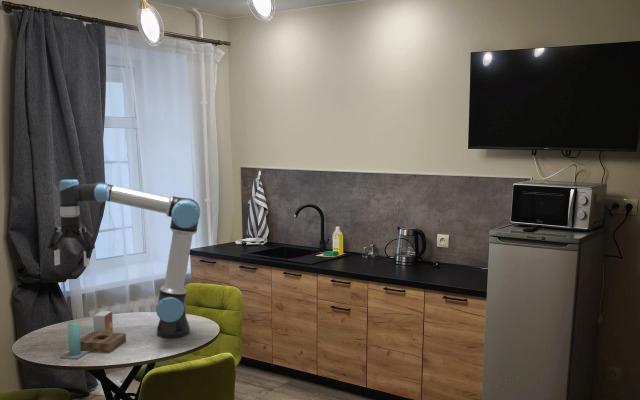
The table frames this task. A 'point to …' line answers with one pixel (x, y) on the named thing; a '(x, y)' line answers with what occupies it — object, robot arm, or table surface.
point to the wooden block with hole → (102, 341)
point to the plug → (74, 338)
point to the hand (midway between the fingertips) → (72, 265)
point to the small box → (103, 322)
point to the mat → (68, 356)
